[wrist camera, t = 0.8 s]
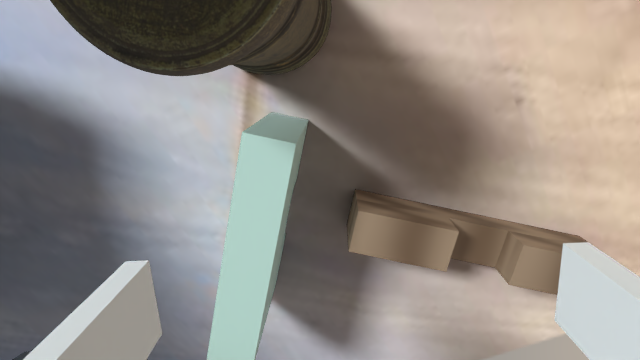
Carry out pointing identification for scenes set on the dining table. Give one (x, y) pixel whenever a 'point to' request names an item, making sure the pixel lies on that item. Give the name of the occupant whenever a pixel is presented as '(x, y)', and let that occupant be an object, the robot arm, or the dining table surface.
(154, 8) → the container
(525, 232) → the slotted rail
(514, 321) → the dining table surface
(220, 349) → the plate
